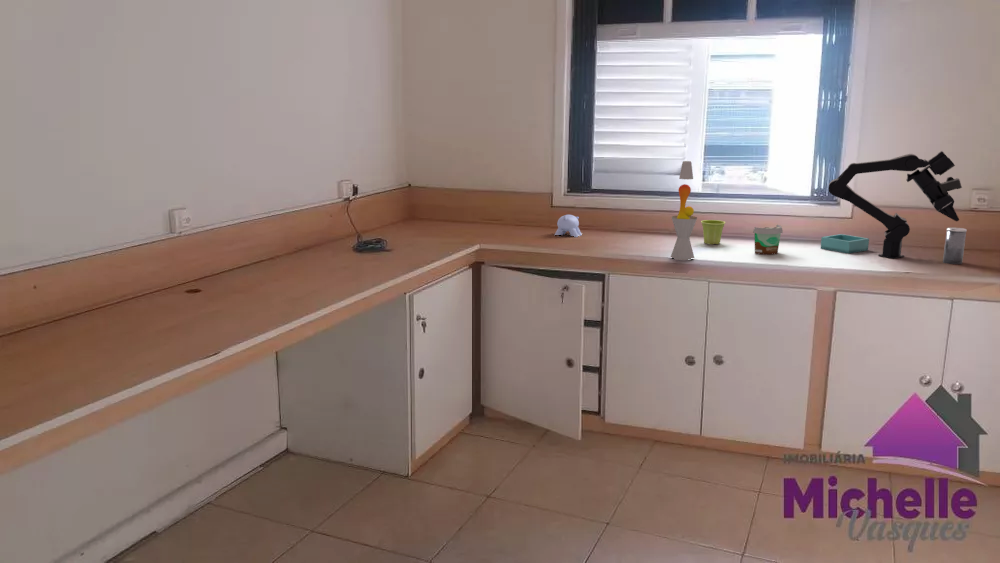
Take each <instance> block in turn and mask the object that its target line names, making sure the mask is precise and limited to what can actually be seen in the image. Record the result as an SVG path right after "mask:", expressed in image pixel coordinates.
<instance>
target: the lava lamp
mask: <svg viewBox="0 0 1000 563" xmlns="http://www.w3.org/2000/svg"><path fill="white" fill-rule="evenodd" d="M681 162H682V164H681V168H680V173H679V180H693V179H694V176H693V166H692V161H690V160H683V161H681ZM691 192H692V188H691V187H690V185H688V184H686V183H685V184H681V185H680V186H679V187H678V195H679V201H680V204H679V205H680V206H679V211H678V215H673V216H671V220H672V224H673V226H674V227H673V228H674V230H675V234H676V237H677V238H676V241H675V244H674V247H673V249H672V250H671V251H672V252H671V255H670V257H672V258H674V259H675V261H689V260H688V259H691V258H695V255H694V252H693V246H692V242H691V238H690V237H691V235H692V232H693V230H694V228H695V225H696V222H697V220H698V217H697V216H694V212H695V210H694V208H693V207H692V206H689V205H688V206H686V205H687V200H688V198H689V196H690V194H691ZM674 259H673V260H674Z"/></svg>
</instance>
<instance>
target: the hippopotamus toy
mask: <svg viewBox="0 0 1000 563" xmlns="http://www.w3.org/2000/svg"><path fill="white" fill-rule="evenodd" d="M579 219H580V217H579V216H575V215H573V214H565V215H562V216H560V217H559V218H558V219H557V223H556V224H557V229H556V230H555V233H554V236H555V235H562V236H564V235H566V234H565V233H567V232H569V235H570V237H571V236H574V237H573V238H579V237H581V236H582V234H583V232H581V230H580V227H579V226H580V222H579ZM578 236H579V237H578Z"/></svg>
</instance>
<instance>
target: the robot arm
mask: <svg viewBox="0 0 1000 563" xmlns="http://www.w3.org/2000/svg"><path fill="white" fill-rule="evenodd" d="M955 166H956V165H955V164H954V162H953V160H951V159H950V157H948V156H947V155H946V154H945V152H944V151H943V150H941V151H940V152H937V154H936V155H934V156H933V157H932V158H930V159H928V160H926V158H925V159H922V158H919V157H918V156H917V155H916V154H913V153H907V154H904V155H903V154H902V155H900V156H897V157H893V158H891V159H884V160H875V161H873V160H872V161H865V162H852V163H850V164H849V165H848V166H847V168H845V170H844V171H842V173H841V174H840V175H839V176H837V178H834V179H832V180H831V181H830V182H829V183H828V193H829V194H830V195H832V196H834V197H835V198H836V197H837V198H838V199H841V200H844V201H846V202H850V203H851V204H852V205H854V206H855V207H857V208H858V209H859V210H861V211H863V212H864V213H866V214H867V215H869V216H870V217H872V218H874V219H875V220H877V221H878V222H880V223H881V224H882V225H884V227H885V228H886V229H887V230H885V231H884V234H883V235H884V237H885V238H884V239H883V245H882V252H881V253H879V254H878V255H877V256H879V257H882V258H883V257H884V258H890V259H899V258H900V259H901V258H904V257H905V255H903V254H902V245H903V238H904V237H907V235H908V234H909V233H910V230H911V229H910V226H909V223H908V222H907V221H908V220H907V219H906V218H905V217H902V216H901V215H900V214H899V213H898V212H895V213H894V215H893V214H890V213H888V212H886V211H884V210H883V209H881V208H880V207H879V206H878V205H875V204H874V203H872V202H871V201H869V200H868V199H867V198H865V197H863V196H861V195H859V194H858V193H857V192H855V191H854V190H853V188H851V186H849V185H848V184H849V183H850V182H851V181H852V180H853V178H855V176H856V175H857V174H867V173H877V172H884V171H899V172H912V173H907V175H906V181H907V183H909V182H911V181H912V180H913V182H914V183H915V184H916V185H917V186H918V188H919V189H920V190H921V191H922V193H923V194H924V195H925V196H926V198H927V199H928V200H929V202H930V204H931V205H932V206H933V208H934V209H935V210H936V212H938V213H940V214H942V215H943V216H945V217H948V218H949V219H951V220H953V221H955V222H959V221H960V219H959V216H958V214H957V212H956V210H955V208H954V204H955V199H954V198H953V197H952V195H950V194H949V192H950V191H955V190H959V189H962V188H963V187H962V183H961V179H960V178H958V177H957V178H953V176H949V177H946V181H943V182H940V181H939V180H937V179H936V178H935V176H937V175H939V176H941V175H944V174H945V173H946V172H948V171H949V170H951V169H953V168H954V167H955ZM919 168H920V169H921V168H922V169H921V170H920V169H919ZM930 171H931V172H930ZM932 173H933V174H934V175H935V176H934V175H933V174H932Z"/></svg>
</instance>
